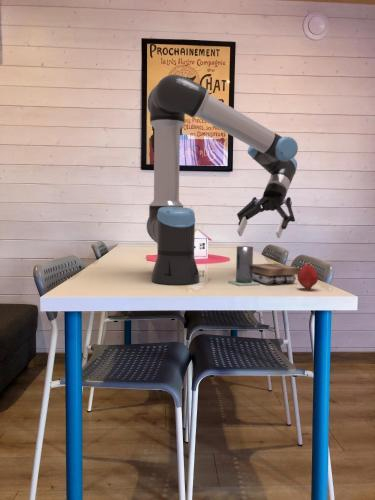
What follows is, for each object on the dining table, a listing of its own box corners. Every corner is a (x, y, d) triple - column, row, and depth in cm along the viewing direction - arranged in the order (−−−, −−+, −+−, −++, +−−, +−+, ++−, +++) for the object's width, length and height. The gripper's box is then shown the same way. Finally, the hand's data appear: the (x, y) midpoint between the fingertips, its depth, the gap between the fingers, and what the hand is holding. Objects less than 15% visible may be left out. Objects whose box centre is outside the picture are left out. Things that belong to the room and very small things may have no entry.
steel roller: (241, 283, 139) (242, 247, 138) (232, 281, 143) (233, 246, 142) (255, 282, 141) (256, 247, 140) (246, 280, 145) (247, 246, 144)
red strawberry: (292, 288, 134) (293, 261, 133) (307, 287, 137) (308, 260, 136) (307, 292, 129) (308, 263, 128) (321, 290, 132) (322, 263, 131)
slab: (268, 275, 138) (268, 269, 138) (248, 270, 149) (248, 264, 149) (298, 274, 142) (298, 267, 142) (276, 269, 153) (276, 263, 153)
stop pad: (239, 286, 137) (239, 284, 137) (228, 282, 144) (228, 280, 144) (259, 284, 140) (259, 283, 140) (247, 281, 147) (247, 279, 146)
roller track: (265, 285, 140) (265, 275, 140) (250, 280, 148) (250, 271, 148) (295, 283, 144) (295, 273, 144) (278, 279, 152) (279, 270, 152)
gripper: (313, 197, 157) (297, 244, 146) (247, 197, 170) (227, 240, 159) (309, 181, 152) (292, 227, 141) (241, 182, 165) (220, 225, 154)
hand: (258, 234), depth 150 cm, fingers open, 13 cm apart
